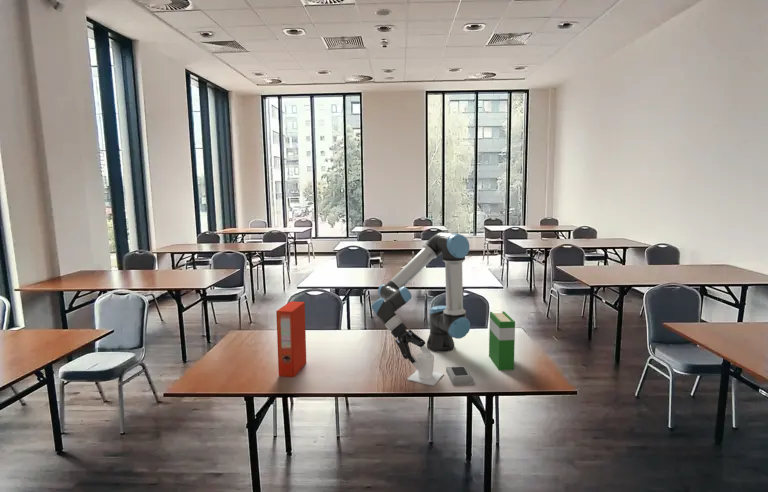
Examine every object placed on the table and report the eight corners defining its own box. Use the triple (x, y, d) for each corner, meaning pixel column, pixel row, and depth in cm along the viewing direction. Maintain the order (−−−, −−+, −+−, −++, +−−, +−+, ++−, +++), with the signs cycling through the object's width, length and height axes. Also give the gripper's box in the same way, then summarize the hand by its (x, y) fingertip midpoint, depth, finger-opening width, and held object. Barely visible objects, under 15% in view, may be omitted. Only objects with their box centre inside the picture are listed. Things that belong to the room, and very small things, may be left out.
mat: (418, 369, 222) (418, 368, 222) (443, 374, 216) (443, 373, 216) (407, 380, 211) (407, 379, 211) (433, 385, 205) (433, 384, 205)
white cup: (435, 373, 216) (435, 353, 215) (432, 380, 209) (432, 359, 207) (418, 372, 218) (418, 352, 217) (415, 378, 211) (415, 358, 209)
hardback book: (488, 356, 238) (489, 311, 235) (502, 355, 239) (504, 311, 235) (498, 370, 221) (499, 322, 217) (513, 369, 221) (515, 321, 218)
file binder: (307, 362, 233) (304, 301, 228) (294, 377, 216) (292, 311, 211) (291, 362, 234) (289, 301, 230) (278, 376, 217) (275, 310, 213)
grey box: (465, 364, 220) (473, 377, 206) (465, 371, 221) (473, 384, 206) (446, 364, 220) (452, 377, 205) (446, 372, 220) (452, 385, 206)
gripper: (402, 324, 230) (430, 357, 225) (379, 339, 208) (409, 377, 203) (412, 315, 226) (440, 349, 222) (389, 329, 205) (420, 367, 200)
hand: (425, 362), depth 212 cm, fingers open, 13 cm apart
